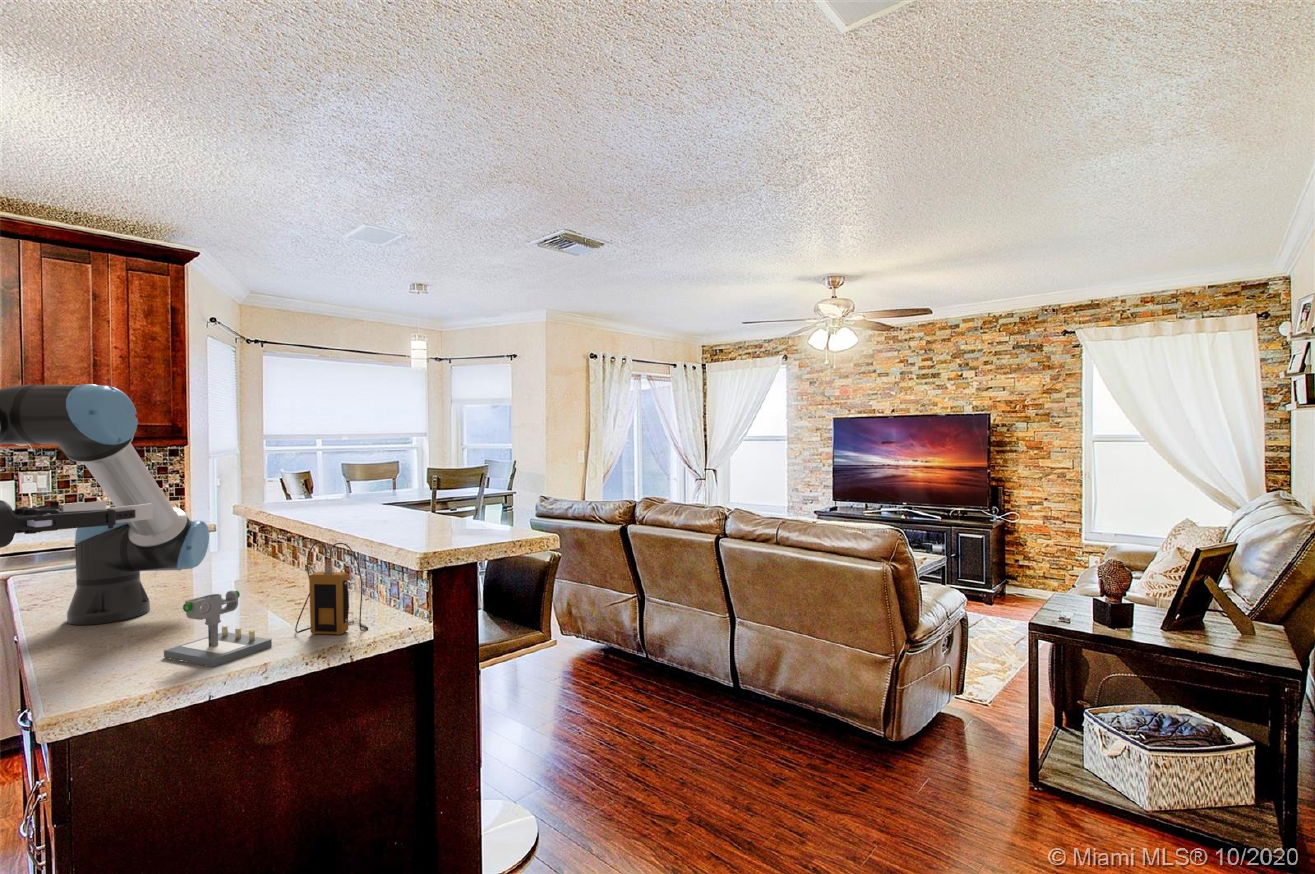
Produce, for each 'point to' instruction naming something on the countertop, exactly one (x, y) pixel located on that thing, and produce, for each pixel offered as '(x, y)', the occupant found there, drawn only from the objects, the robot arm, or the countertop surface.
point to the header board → (219, 648)
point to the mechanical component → (211, 611)
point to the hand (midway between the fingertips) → (128, 509)
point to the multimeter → (329, 600)
